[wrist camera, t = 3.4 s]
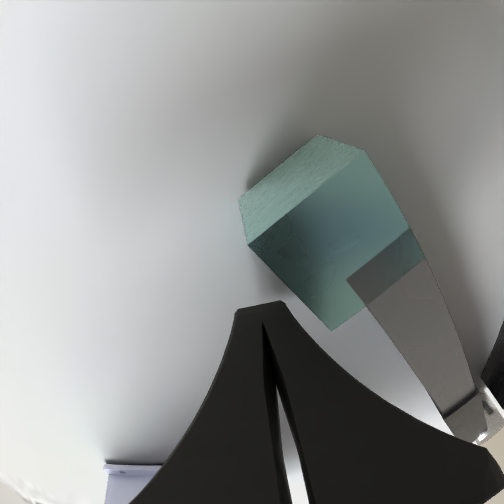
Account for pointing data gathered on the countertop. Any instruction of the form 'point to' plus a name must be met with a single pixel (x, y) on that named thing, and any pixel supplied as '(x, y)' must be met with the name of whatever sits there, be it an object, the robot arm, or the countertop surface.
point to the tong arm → (363, 268)
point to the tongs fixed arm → (496, 370)
